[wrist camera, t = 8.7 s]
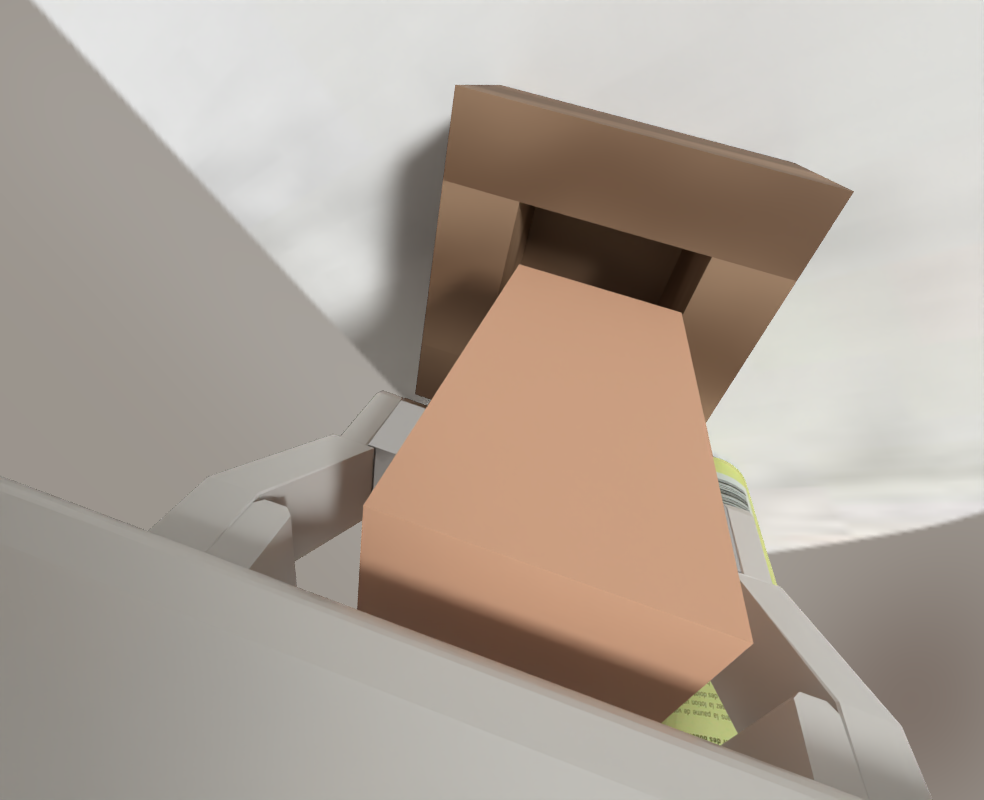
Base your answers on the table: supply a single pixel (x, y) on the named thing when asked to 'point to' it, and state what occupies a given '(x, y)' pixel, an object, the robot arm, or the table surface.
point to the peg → (564, 504)
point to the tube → (705, 706)
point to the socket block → (617, 224)
